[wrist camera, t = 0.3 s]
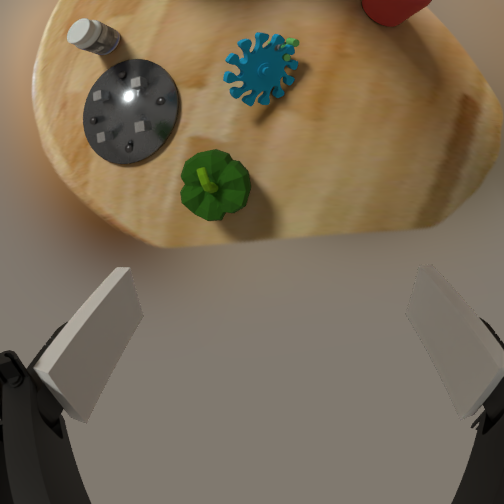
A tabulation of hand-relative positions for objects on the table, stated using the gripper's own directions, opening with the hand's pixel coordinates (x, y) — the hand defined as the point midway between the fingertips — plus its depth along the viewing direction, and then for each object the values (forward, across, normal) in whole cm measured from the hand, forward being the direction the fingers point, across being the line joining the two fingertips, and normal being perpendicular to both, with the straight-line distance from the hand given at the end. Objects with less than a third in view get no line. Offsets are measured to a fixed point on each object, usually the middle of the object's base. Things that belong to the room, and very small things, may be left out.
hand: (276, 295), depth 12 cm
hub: (+27, -20, +12) cm, 36 cm away
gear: (+28, 0, +15) cm, 31 cm away
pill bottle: (+28, -24, +25) cm, 44 cm away
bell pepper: (+27, -6, +1) cm, 28 cm away
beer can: (+28, +17, +28) cm, 43 cm away
